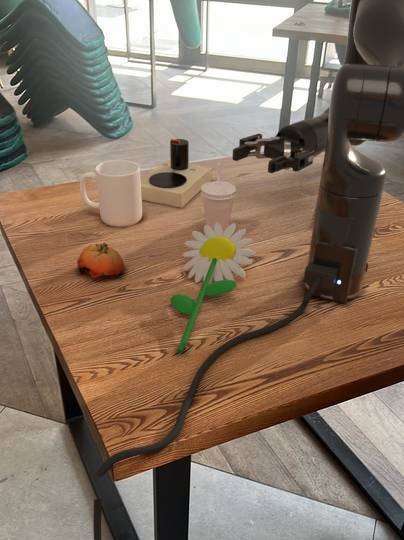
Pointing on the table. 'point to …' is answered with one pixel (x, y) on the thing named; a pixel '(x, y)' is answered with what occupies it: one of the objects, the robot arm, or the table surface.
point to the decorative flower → (212, 267)
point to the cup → (116, 192)
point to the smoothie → (218, 201)
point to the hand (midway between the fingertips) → (251, 161)
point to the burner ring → (167, 180)
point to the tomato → (101, 260)
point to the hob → (179, 194)
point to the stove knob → (179, 154)
